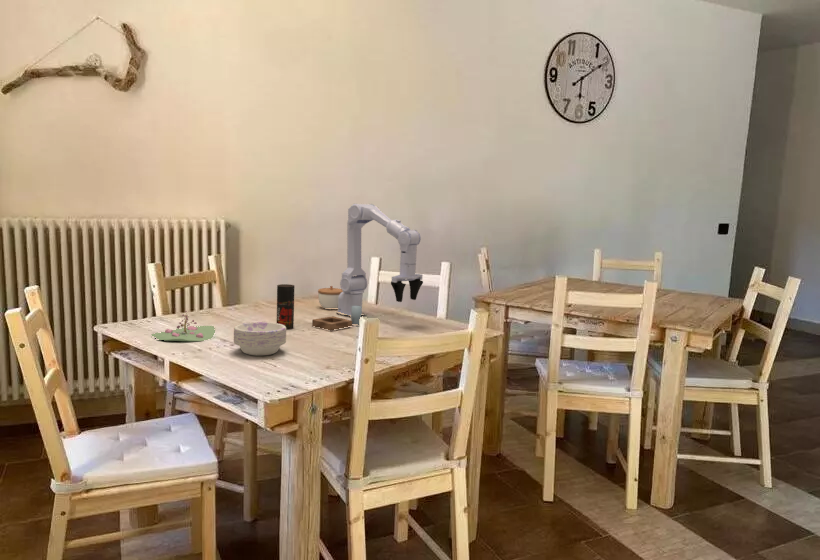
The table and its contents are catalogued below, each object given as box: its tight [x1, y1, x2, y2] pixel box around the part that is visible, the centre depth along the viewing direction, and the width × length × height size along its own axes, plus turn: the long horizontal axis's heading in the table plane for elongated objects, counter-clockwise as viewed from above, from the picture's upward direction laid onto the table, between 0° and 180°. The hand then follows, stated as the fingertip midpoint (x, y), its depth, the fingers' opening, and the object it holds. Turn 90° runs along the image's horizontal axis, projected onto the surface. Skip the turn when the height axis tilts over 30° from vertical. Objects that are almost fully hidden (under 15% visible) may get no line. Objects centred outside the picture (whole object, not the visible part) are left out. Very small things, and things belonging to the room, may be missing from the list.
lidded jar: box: [317, 285, 343, 308], centre depth 260 cm, size 11×11×9 cm
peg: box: [350, 306, 363, 325], centre depth 231 cm, size 4×4×7 cm
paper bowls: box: [233, 321, 287, 357], centre depth 188 cm, size 15×15×8 cm
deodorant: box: [276, 283, 295, 331], centre depth 221 cm, size 6×6×15 cm
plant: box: [150, 310, 216, 342], centre depth 206 cm, size 25×21×9 cm
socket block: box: [311, 315, 353, 330], centre depth 227 cm, size 10×10×2 cm
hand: (406, 300), depth 230 cm, fingers open, 7 cm apart
